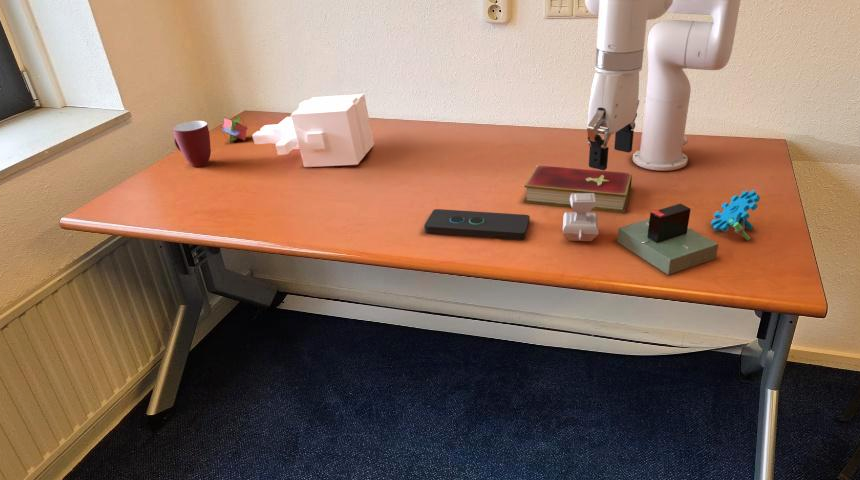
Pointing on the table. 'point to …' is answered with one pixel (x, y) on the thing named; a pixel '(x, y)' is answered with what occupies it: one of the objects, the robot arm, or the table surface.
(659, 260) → the green base plate
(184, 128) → the mug
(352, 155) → the white voxel figure
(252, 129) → the table surface
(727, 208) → the blue splat shape
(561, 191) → the hardcover book
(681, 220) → the black rectangular block
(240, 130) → the geometric puzzle
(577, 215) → the white square urn
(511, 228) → the smart home device
